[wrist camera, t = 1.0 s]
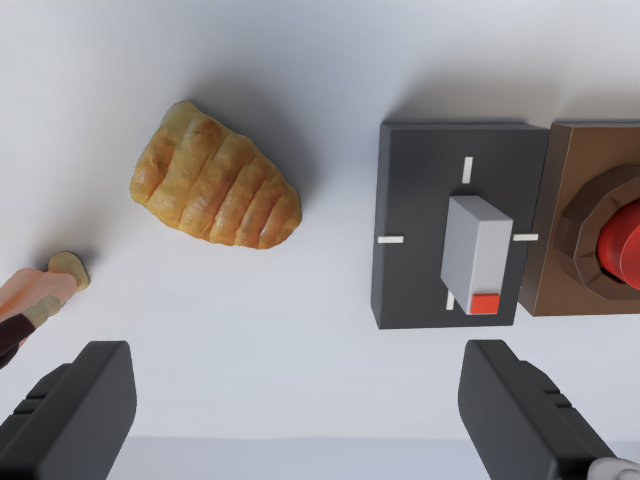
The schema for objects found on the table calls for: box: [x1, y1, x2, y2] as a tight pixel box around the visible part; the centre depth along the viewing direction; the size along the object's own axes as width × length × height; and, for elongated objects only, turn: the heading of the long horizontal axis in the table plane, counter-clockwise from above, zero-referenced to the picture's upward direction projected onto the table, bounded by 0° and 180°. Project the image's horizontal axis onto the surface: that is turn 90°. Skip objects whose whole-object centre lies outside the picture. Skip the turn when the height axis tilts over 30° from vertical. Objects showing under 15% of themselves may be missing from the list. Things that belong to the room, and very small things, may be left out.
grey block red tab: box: [441, 196, 513, 315], centre depth 23 cm, size 5×2×4 cm, turn 0°
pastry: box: [130, 101, 302, 249], centre depth 24 cm, size 9×7×4 cm
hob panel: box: [371, 123, 550, 329], centre depth 26 cm, size 12×9×3 cm
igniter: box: [518, 123, 640, 317], centre depth 26 cm, size 12×8×4 cm
